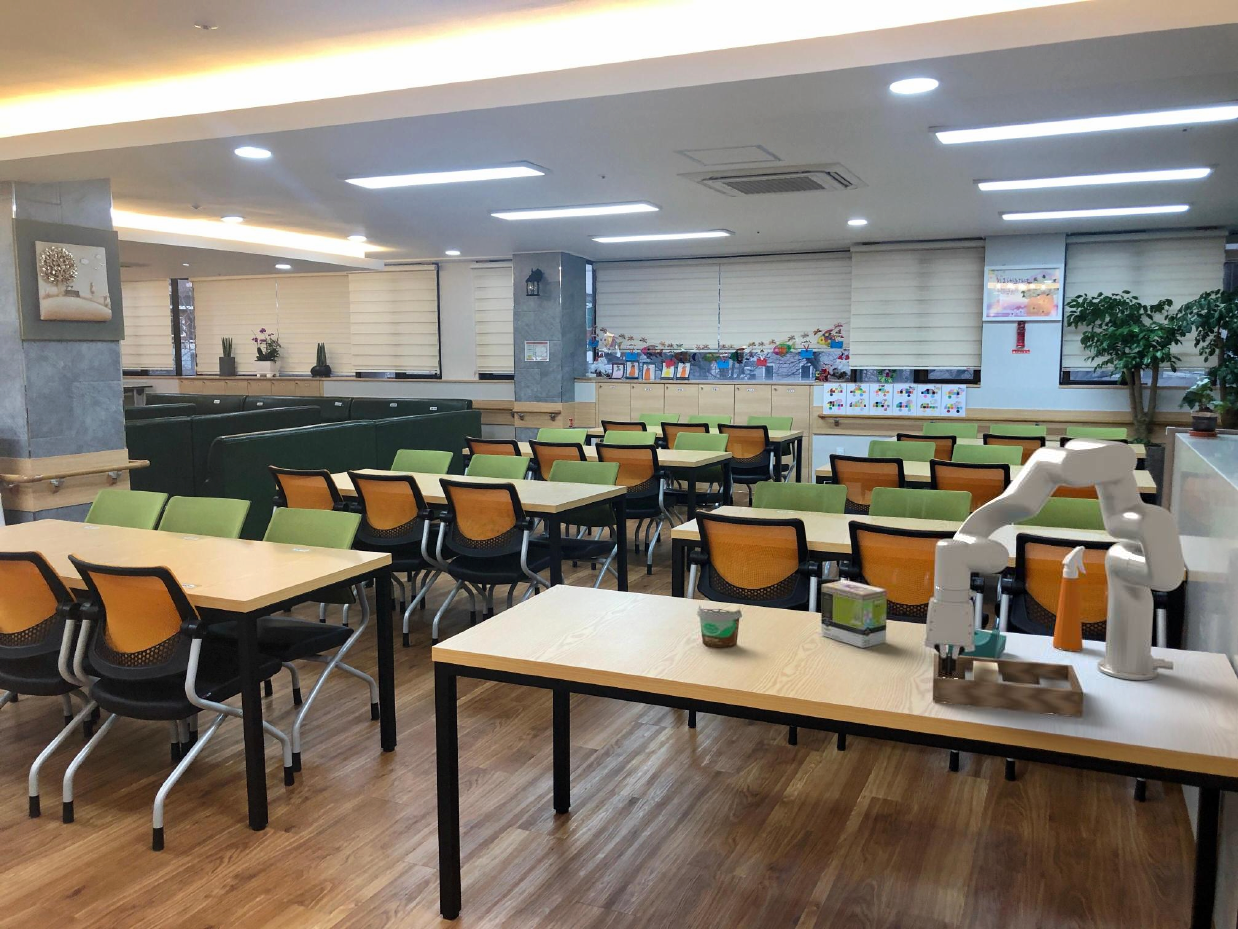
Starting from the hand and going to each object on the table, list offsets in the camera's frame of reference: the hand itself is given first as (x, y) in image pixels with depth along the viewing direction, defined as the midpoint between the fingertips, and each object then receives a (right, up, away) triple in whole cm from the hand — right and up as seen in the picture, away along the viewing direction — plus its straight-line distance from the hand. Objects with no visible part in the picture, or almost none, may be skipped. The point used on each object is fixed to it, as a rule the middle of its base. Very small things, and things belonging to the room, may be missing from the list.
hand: (948, 673), depth 207 cm
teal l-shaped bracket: (+16, -2, +25) cm, 29 cm away
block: (+7, -3, -2) cm, 8 cm away
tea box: (-11, -1, +42) cm, 44 cm away
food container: (-48, -2, +38) cm, 62 cm away
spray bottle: (+44, -1, +34) cm, 56 cm away
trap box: (+12, -5, 0) cm, 13 cm away
